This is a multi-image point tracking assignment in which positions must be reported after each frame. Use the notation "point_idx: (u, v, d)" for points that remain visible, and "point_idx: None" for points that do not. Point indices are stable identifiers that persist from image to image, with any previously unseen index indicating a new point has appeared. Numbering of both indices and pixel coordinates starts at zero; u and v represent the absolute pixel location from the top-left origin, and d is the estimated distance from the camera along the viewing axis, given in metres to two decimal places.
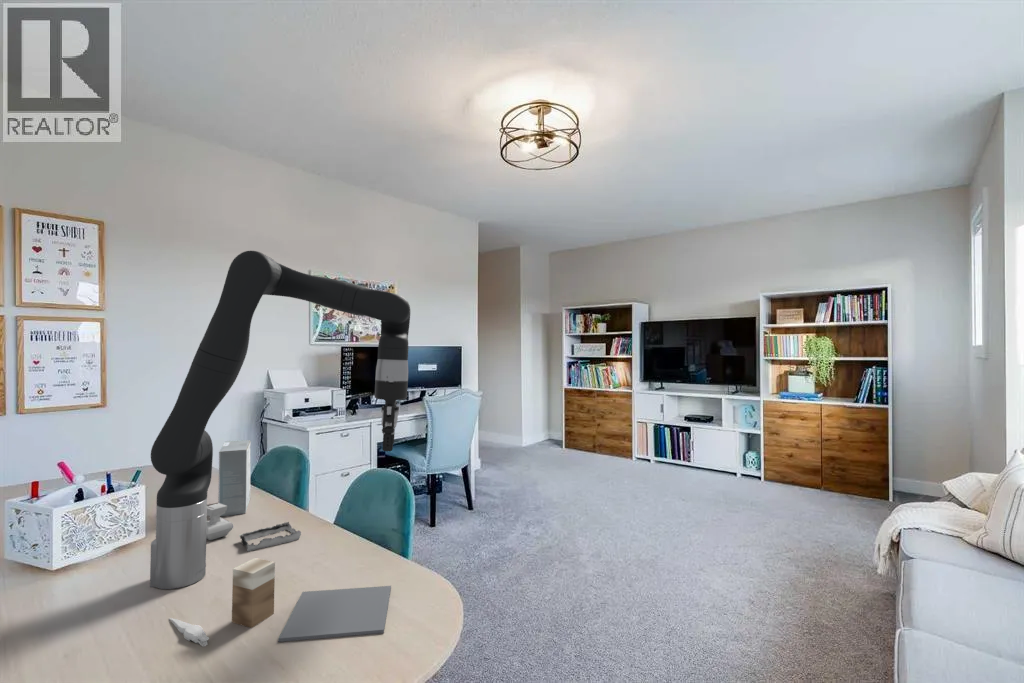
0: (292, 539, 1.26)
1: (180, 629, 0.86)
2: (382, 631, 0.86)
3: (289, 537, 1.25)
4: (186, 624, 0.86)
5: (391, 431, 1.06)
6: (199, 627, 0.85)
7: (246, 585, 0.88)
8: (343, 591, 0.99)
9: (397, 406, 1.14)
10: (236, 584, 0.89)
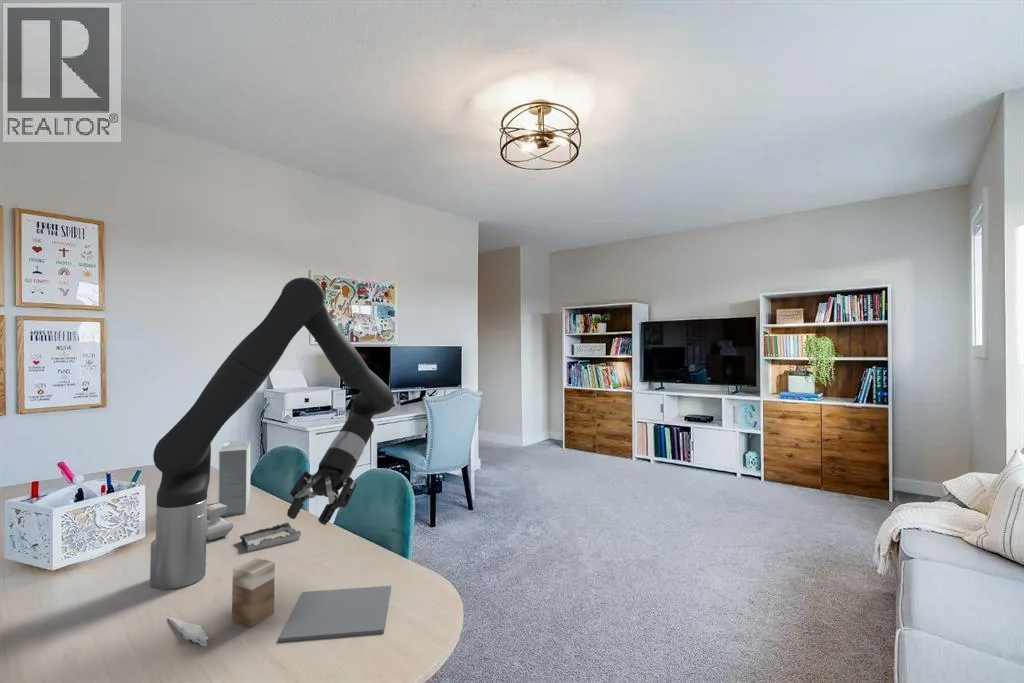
0: (292, 539, 1.26)
1: (179, 629, 0.86)
2: (382, 631, 0.86)
3: (289, 537, 1.25)
4: (185, 624, 0.86)
5: (345, 505, 1.03)
6: (198, 627, 0.85)
7: (246, 585, 0.88)
8: (343, 591, 0.99)
9: None
10: (236, 584, 0.89)
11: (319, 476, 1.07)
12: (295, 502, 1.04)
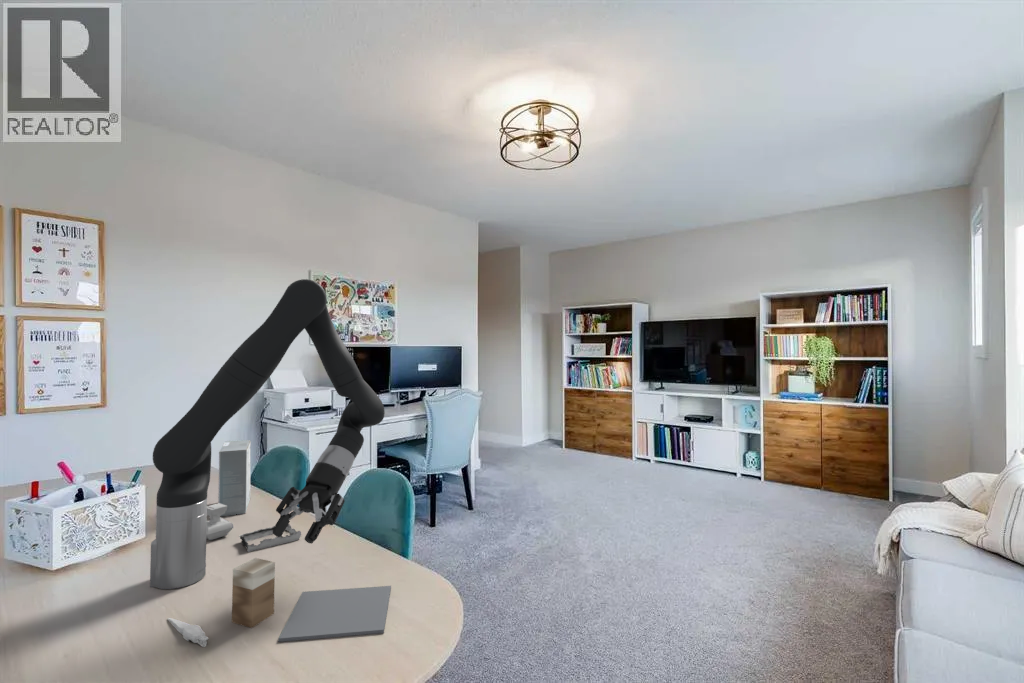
0: (292, 540, 1.26)
1: (179, 629, 0.85)
2: (382, 631, 0.86)
3: (289, 537, 1.25)
4: (185, 624, 0.86)
5: (332, 522, 1.00)
6: (198, 627, 0.85)
7: (246, 585, 0.88)
8: (343, 591, 0.99)
9: None
10: (236, 584, 0.89)
11: (306, 492, 1.04)
12: (281, 519, 1.01)
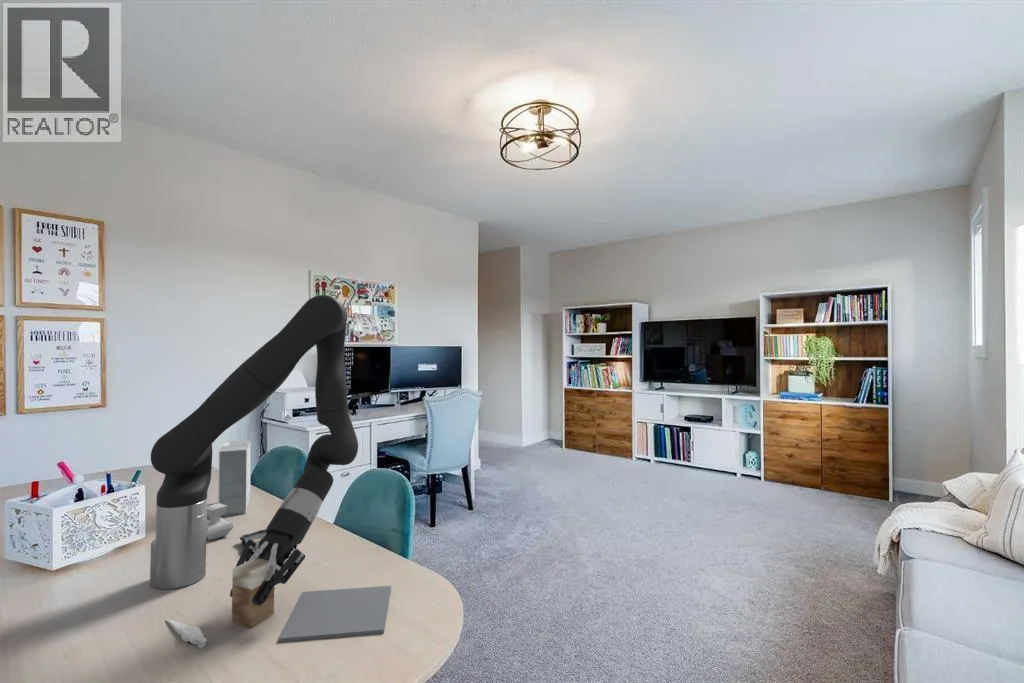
0: None
1: (177, 630, 0.85)
2: (382, 631, 0.86)
3: None
4: (183, 625, 0.86)
5: (284, 581, 0.91)
6: (197, 628, 0.84)
7: (246, 585, 0.88)
8: (343, 591, 0.99)
9: None
10: (236, 584, 0.89)
11: (266, 542, 0.95)
12: None
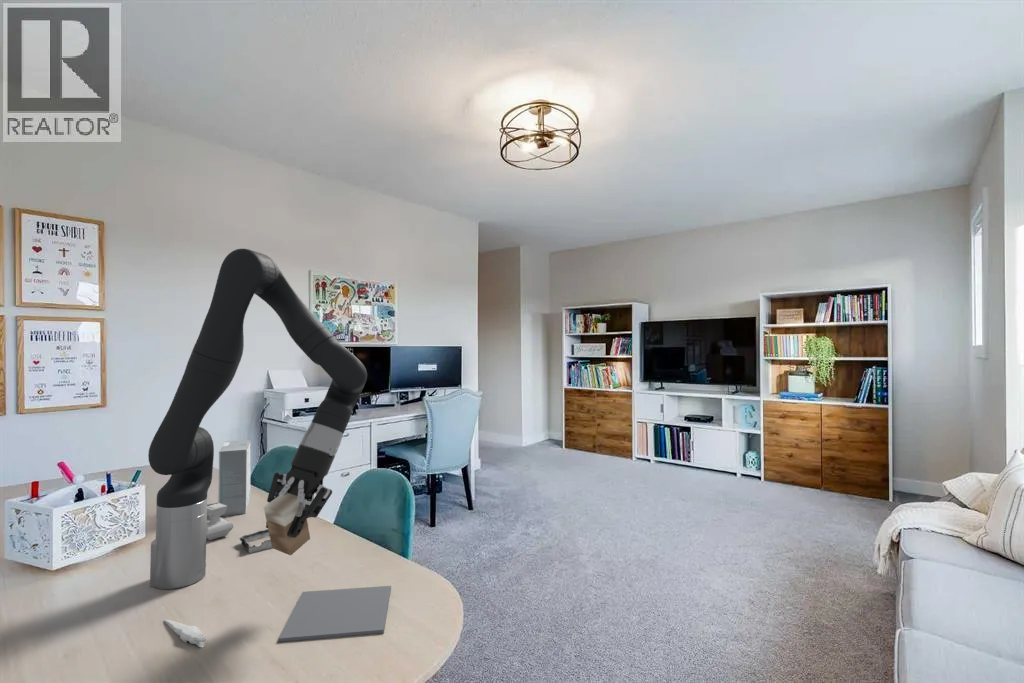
0: None
1: (176, 630, 0.85)
2: (382, 631, 0.86)
3: None
4: (182, 625, 0.86)
5: (315, 515, 0.94)
6: (196, 628, 0.84)
7: (279, 522, 0.91)
8: (343, 591, 0.99)
9: None
10: (269, 519, 0.92)
11: (292, 478, 0.96)
12: None
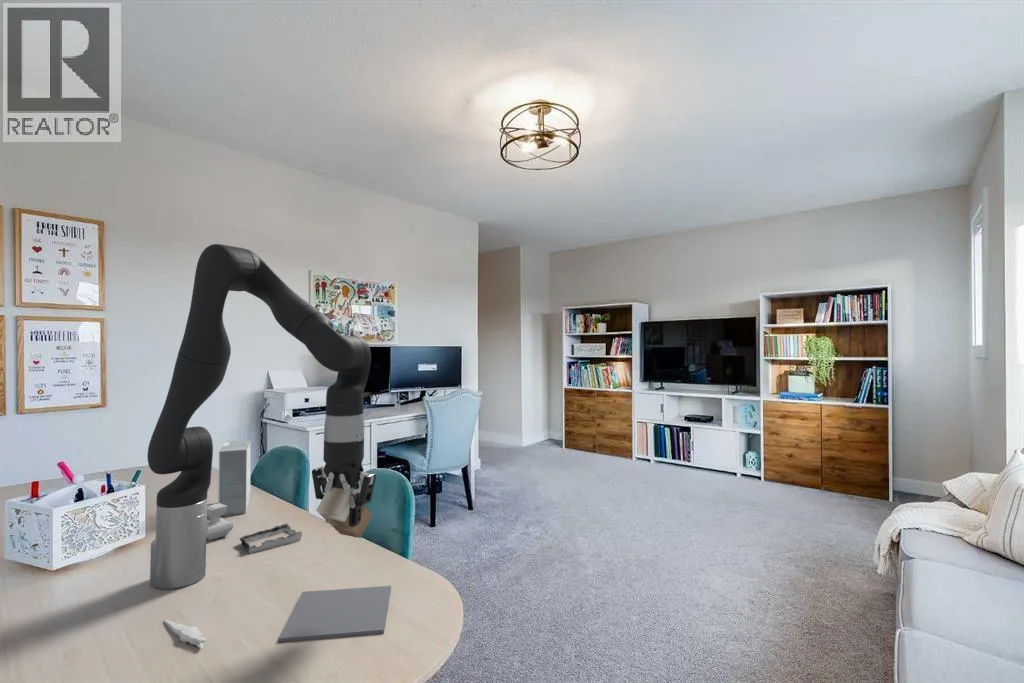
0: (293, 540, 1.25)
1: (176, 631, 0.85)
2: (382, 631, 0.86)
3: (291, 538, 1.25)
4: (182, 626, 0.86)
5: (368, 501, 0.92)
6: (195, 629, 0.84)
7: (337, 519, 0.90)
8: (343, 591, 0.99)
9: None
10: (327, 518, 0.91)
11: (331, 474, 0.92)
12: None
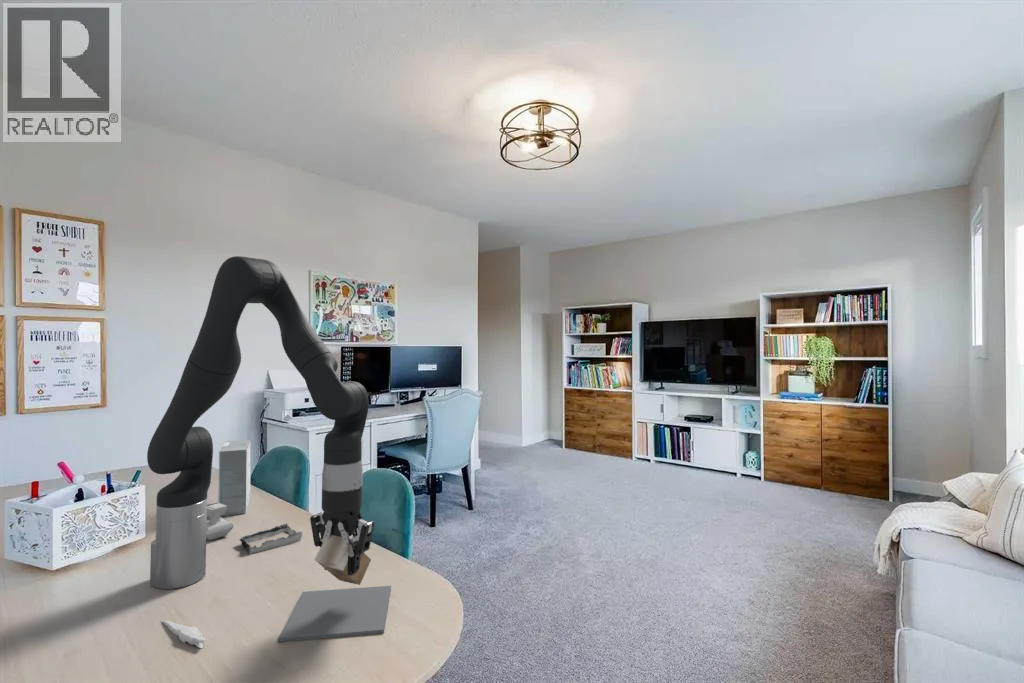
0: (293, 540, 1.25)
1: (175, 631, 0.85)
2: (382, 631, 0.86)
3: (291, 538, 1.25)
4: (181, 626, 0.86)
5: (367, 549, 0.92)
6: (195, 629, 0.84)
7: (335, 568, 0.90)
8: (343, 591, 0.99)
9: None
10: (325, 566, 0.91)
11: (329, 522, 0.91)
12: None
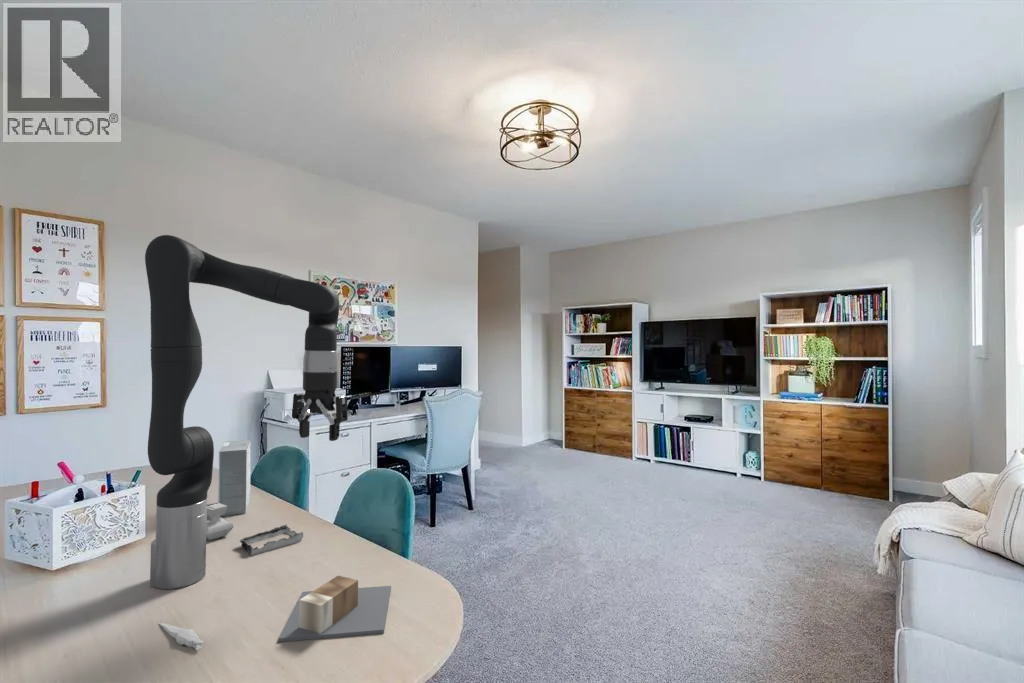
0: (294, 541, 1.25)
1: (172, 634, 0.84)
2: (382, 631, 0.86)
3: (292, 539, 1.24)
4: (178, 629, 0.85)
5: (345, 419, 1.10)
6: (192, 631, 0.84)
7: None
8: None
9: None
10: None
11: (309, 400, 1.10)
12: (301, 425, 1.12)
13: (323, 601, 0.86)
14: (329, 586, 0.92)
